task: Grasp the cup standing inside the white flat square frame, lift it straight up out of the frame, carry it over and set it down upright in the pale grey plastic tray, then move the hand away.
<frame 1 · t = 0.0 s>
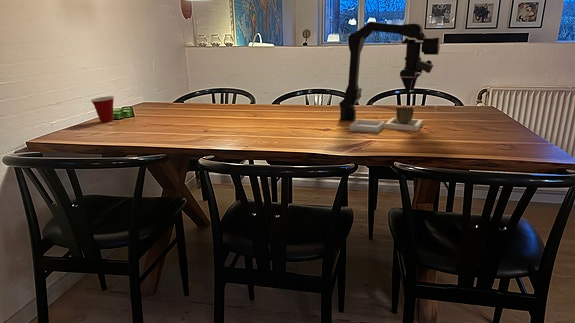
hand: (410, 91, 173), 15 cm above the table, tool pointing down, fingers open, 9 cm apart
white flat square frame: (403, 126, 174), on the table
grey tray: (367, 128, 171), on the table
plastic cup: (106, 121, 199), on the table
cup: (403, 126, 174), on the table
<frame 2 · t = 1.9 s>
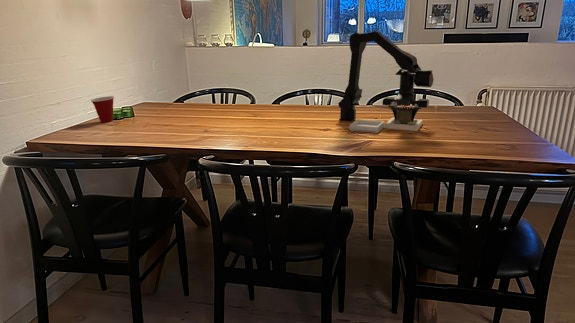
hand: (404, 121, 174), 2 cm above the table, tool pointing down, fingers closed on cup, 6 cm apart
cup: (403, 126, 174), on the table, touching gripper
everything else where it was.
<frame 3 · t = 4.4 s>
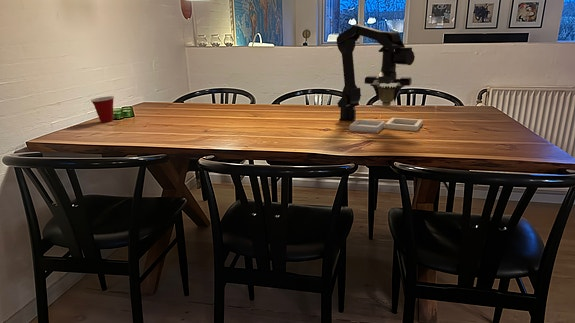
hand: (386, 100, 169), 12 cm above the table, tool pointing down, fingers closed on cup, 6 cm apart
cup: (386, 106, 170), point 9 cm above the table, touching gripper
everything else where it was.
when the fingers open (4 cm above the table, at t = 6.9 s): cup drops 1 cm, resting on grey tray.
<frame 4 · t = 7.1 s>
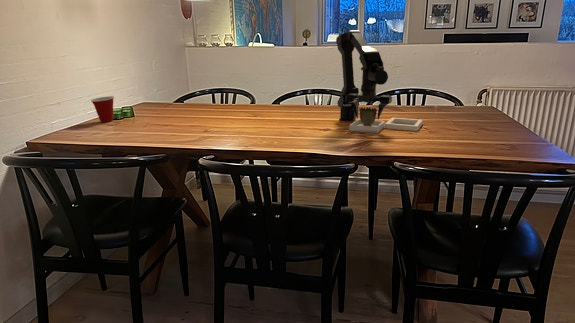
hand: (367, 118, 170), 4 cm above the table, tool pointing down, fingers open, 9 cm apart
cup: (367, 127, 171), point 1 cm above the table, touching grey tray
everything else where it was.
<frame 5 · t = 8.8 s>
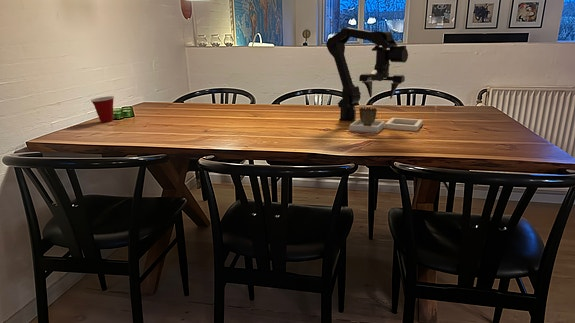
hand: (380, 97, 175), 12 cm above the table, tool pointing down, fingers open, 9 cm apart
nothing on the table moved.
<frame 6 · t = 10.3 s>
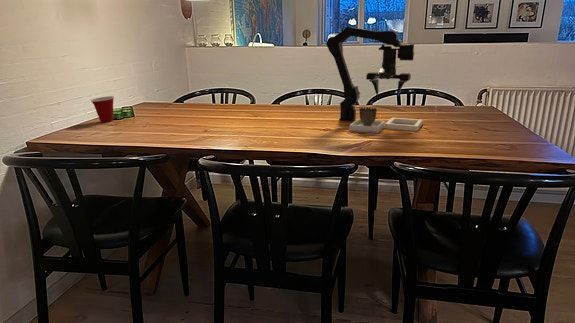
hand: (387, 95, 180), 12 cm above the table, tool pointing down, fingers open, 9 cm apart
nothing on the table moved.
at the end: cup inside the target area on the grey tray (0.0 cm from its centre), point 0.6 cm above the grey tray's base; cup tilted 0°; the gripper is holding nothing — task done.
